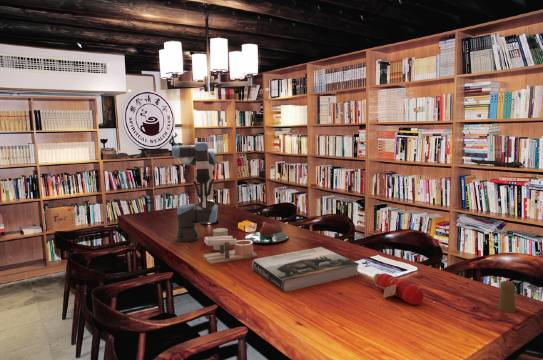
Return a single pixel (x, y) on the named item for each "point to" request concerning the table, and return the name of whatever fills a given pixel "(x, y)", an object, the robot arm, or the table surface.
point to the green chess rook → (507, 297)
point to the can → (219, 233)
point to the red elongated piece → (398, 288)
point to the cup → (243, 247)
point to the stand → (225, 255)
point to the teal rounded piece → (267, 234)
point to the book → (304, 268)
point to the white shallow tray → (219, 240)
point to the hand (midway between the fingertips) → (204, 207)
